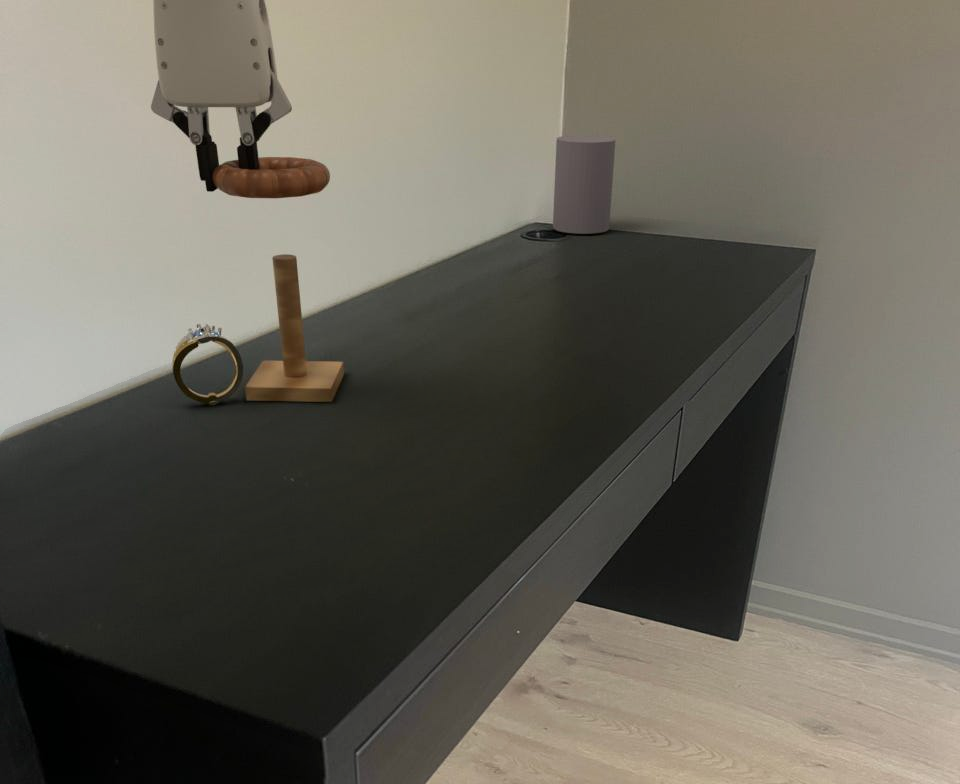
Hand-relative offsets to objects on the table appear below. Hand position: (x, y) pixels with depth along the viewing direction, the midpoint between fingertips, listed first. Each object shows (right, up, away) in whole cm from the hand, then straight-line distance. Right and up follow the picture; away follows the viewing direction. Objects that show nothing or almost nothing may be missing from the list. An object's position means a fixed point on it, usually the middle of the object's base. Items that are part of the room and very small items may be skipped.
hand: (231, 187), depth 95 cm
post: (+4, -16, +12) cm, 20 cm away
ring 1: (-4, -19, +7) cm, 21 cm away
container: (+43, +31, +86) cm, 101 cm away
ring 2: (+4, +1, -1) cm, 4 cm away
